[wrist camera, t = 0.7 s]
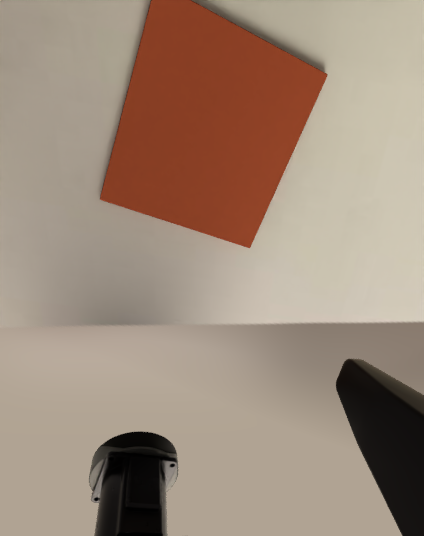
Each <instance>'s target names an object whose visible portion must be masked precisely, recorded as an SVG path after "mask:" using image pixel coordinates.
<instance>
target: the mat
mask: <svg viewBox="0 0 424 536" xmlns="http://www.w3.org/2000/svg"><path fill="white" fill-rule="evenodd" d="M326 77H327V74H326V73H324V72H322V71H320V70H319V69H317V68H315V67H313V66H311V65H309V64H307V63H306V62H304V61H302V60H300V59H298V58H296V57H295V56H293V55H291V54H289V53H287V52H285V51H284V50H282V49H280V48H278V47H276V46H274V45H272V44H271V43H269V42H267V41H265V40H263V39H261V38H260V37H258V36H256V35H254V34H252V33H250V32H249V31H247V30H245V29H243V28H241V27H239V26H237V25H236V24H234V23H232V22H230V21H228V20H226V19H225V18H223V17H221V16H219V15H217V14H215V13H213V12H212V11H210V10H208V9H206V8H204V7H202V6H201V5H199V4H197V3H195V2H193V1H191V0H151V3H150V7H149V11H148V14H147V18H146V22H145V26H144V30H143V34H142V38H141V42H140V45H139V49H138V53H137V57H136V61H135V65H134V69H133V73H132V76H131V80H130V84H129V88H128V92H127V96H126V100H125V104H124V107H123V111H122V115H121V119H120V123H119V127H118V131H117V135H116V138H115V142H114V146H113V150H112V154H111V158H110V162H109V166H108V169H107V173H106V177H105V181H104V185H103V189H102V193H101V197H100V200H103V201H106V202H109V203H112V204H115V205H119V206H122V207H125V208H128V209H131V210H134V211H137V212H140V213H143V214H146V215H149V216H152V217H156V218H159V219H162V220H165V221H168V222H171V223H174V224H177V225H180V226H183V227H186V228H189V229H192V230H196V231H199V232H202V233H205V234H208V235H211V236H214V237H217V238H220V239H223V240H226V241H229V242H232V243H236V244H239V245H242V246H245V247H248V248H250V247H251V244H252V242H253V240H254V238H255V235H256V233H257V231H258V229H259V226H260V224H261V222H262V220H263V218H264V215H265V213H266V211H267V209H268V206H269V204H270V202H271V200H272V198H273V195H274V193H275V191H276V189H277V186H278V184H279V182H280V180H281V178H282V175H283V173H284V171H285V169H286V166H287V164H288V162H289V160H290V157H291V155H292V153H293V151H294V149H295V146H296V144H297V142H298V140H299V137H300V135H301V133H302V131H303V129H304V126H305V124H306V122H307V120H308V117H309V115H310V113H311V111H312V108H313V106H314V104H315V102H316V100H317V97H318V95H319V93H320V91H321V88H322V86H323V84H324V82H325V80H326Z"/></svg>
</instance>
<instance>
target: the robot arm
mask: <svg viewBox="0 0 424 536" xmlns="http://www.w3.org/2000/svg"><path fill="white" fill-rule="evenodd" d="M336 389H337V392H338V395H339V398H340V400H341V403H342V405H343V408H344V410H345V413H346V415H347V418H348V421H349V423H350V426H351V428H352V431H353V434H354V436H355V438H356V441H357V444H358V446H359V448H360V450H361V452H362V454H363V456H364V458H365V460H366V462H367V464H368V467H369V469H370V471H371V472H372V475H373V477H374V479H375V481H376V483H377V485H378V487H379V489H380V491H381V493H382V495H383V497H384V499H385V501H386V503H387V505H388V507H389V509H390V511H391V513H392V515H393V517H394V520H395V522H396V524H397V526H398V528H399V530H400V532H401V534H402V536H424V395H422V394H421V393H419V392H417V391H415V390H414V389H412V388H410V387H409V386H407V385H405V384H403V383H402V382H400V381H398V380H396V379H395V378H393V377H391V376H389V375H388V374H386V373H384V372H383V371H381V370H379V369H377V368H376V367H374V366H372V365H370V364H369V363H367V362H365V361H364V360H361V359H347V360H346V361H345V362H344V364H343V366H342V369H341V371H340V374H339V376H338V378H337V381H336ZM177 466H178V461H177V459H176V458H173V457H163V456H154V455H144V454H135V453H125V452H116V451H111V452H109V453H107V455H106V458H105V460H104V463H103V466H102V469H101V471H100V474H99V477H98V479H97V482H96V485H95V487H94V490H93V493H92V497H91V500H92V501H93V502H95V503H99V509H98V515H97V522H96V529H95V536H167V511H166V488H167V486H168V484H169V482H170V480H171V478H172V476H173V474H174V472H175V470H176V468H177Z"/></svg>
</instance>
